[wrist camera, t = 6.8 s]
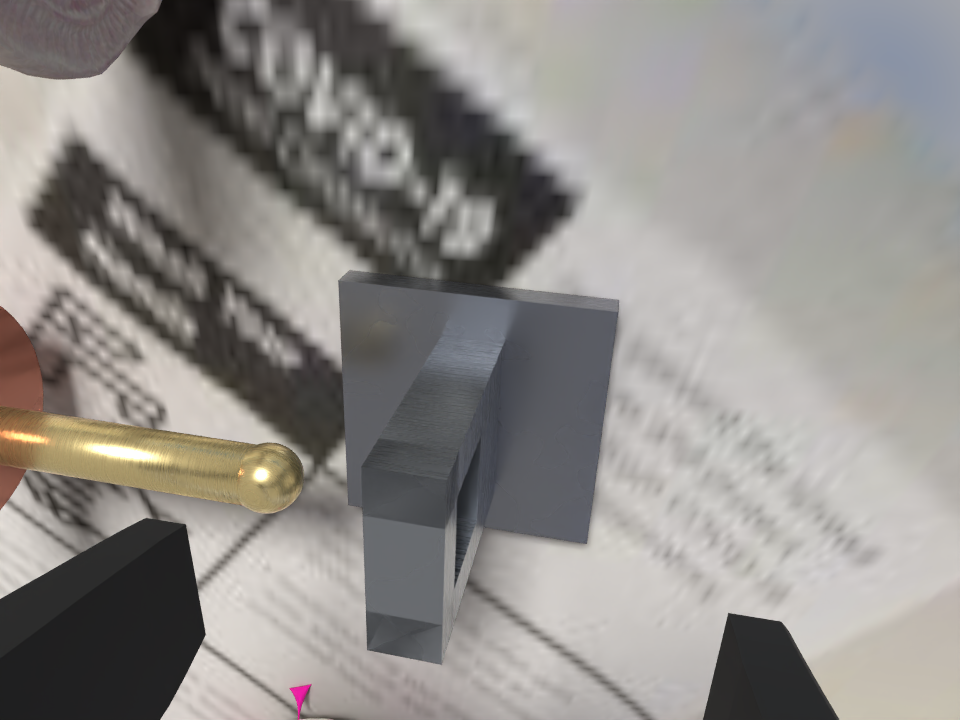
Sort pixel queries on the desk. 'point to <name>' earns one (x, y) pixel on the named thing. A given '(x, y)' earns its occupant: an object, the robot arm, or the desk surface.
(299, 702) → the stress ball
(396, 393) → the eye post
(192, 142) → the desk surface
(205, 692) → the desk surface
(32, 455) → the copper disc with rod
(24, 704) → the robot arm
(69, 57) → the fossil
